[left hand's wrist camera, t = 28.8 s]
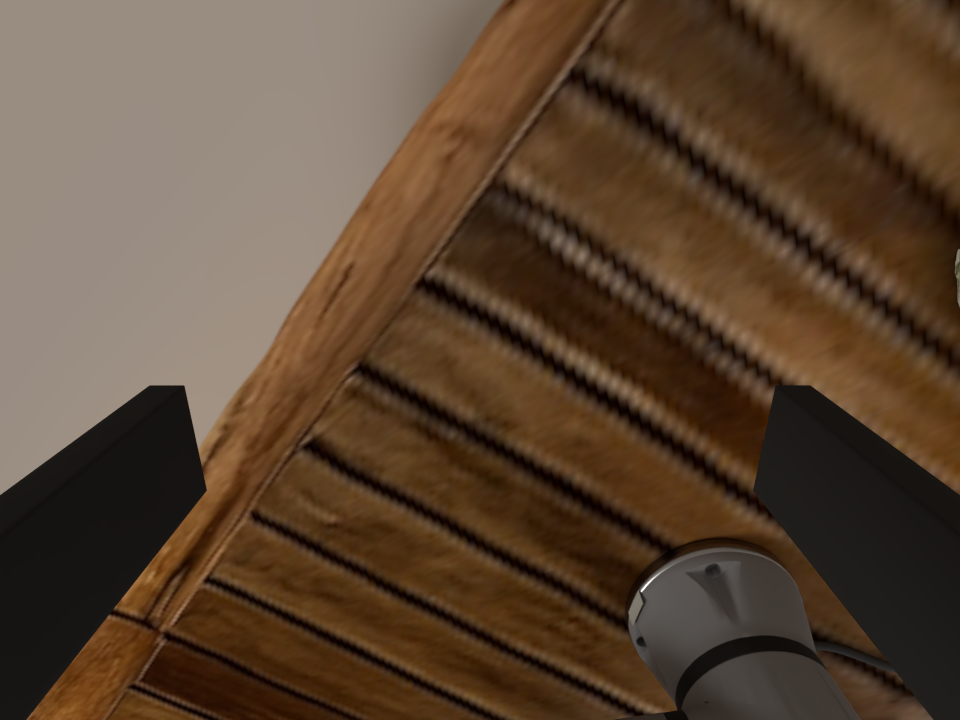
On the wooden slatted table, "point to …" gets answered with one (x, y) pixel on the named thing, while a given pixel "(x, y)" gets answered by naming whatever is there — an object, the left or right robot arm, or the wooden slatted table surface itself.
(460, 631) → the wooden slatted table surface
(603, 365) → the wooden slatted table surface
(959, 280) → the fossil
